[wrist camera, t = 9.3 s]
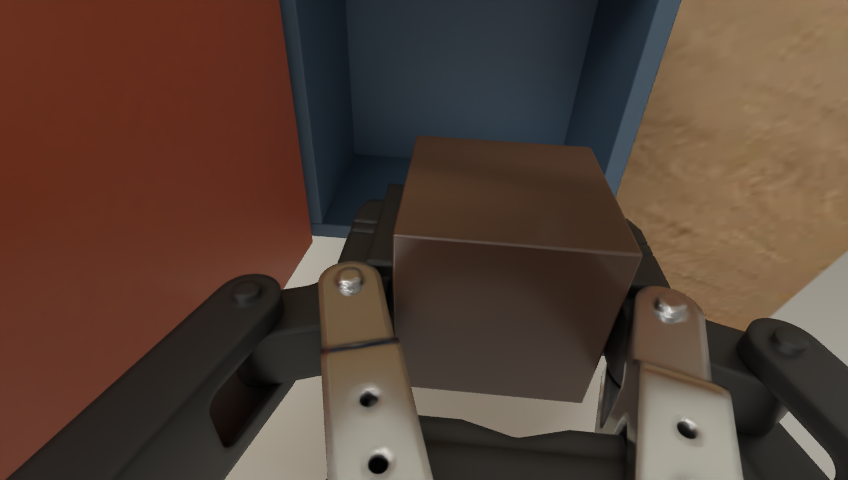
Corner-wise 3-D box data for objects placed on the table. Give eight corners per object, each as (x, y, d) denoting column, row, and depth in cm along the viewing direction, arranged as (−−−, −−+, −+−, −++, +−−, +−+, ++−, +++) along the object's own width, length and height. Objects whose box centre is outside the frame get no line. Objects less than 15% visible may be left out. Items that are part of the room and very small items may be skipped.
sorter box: (629, -79, 22) (706, -71, 15) (565, 174, 30) (595, 258, 23) (327, -92, 22) (261, -91, 15) (346, 159, 30) (308, 235, 23)
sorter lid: (-850, -79, 3) (-936, -87, 3) (82, 613, 11) (52, 606, 11) (267, -91, 15) (244, -92, 15) (313, 242, 23) (298, 240, 23)
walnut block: (413, 266, 14) (393, 385, 11) (416, 134, 12) (391, 235, 8) (554, 278, 14) (582, 404, 11) (591, 146, 12) (644, 255, 8)
